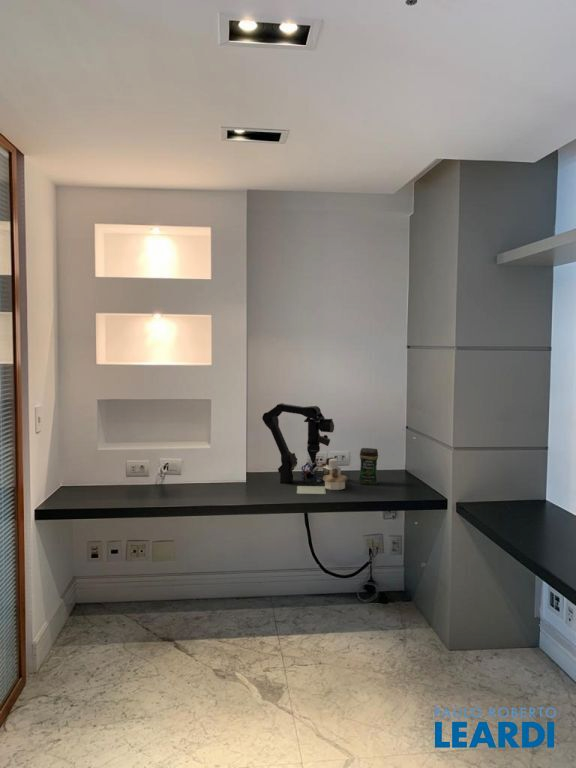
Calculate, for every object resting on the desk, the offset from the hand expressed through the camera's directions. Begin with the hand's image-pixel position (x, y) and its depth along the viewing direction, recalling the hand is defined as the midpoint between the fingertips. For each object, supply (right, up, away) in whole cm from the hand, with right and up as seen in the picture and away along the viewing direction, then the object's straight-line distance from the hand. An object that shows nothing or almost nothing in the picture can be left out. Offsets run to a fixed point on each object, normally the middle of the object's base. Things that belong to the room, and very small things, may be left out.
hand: (313, 461), depth 295 cm
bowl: (+11, -13, -2) cm, 17 cm away
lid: (+11, -9, -3) cm, 14 cm away
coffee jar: (+29, -13, +8) cm, 33 cm away
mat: (-1, -14, -8) cm, 16 cm away
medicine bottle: (+10, -12, +14) cm, 21 cm away
